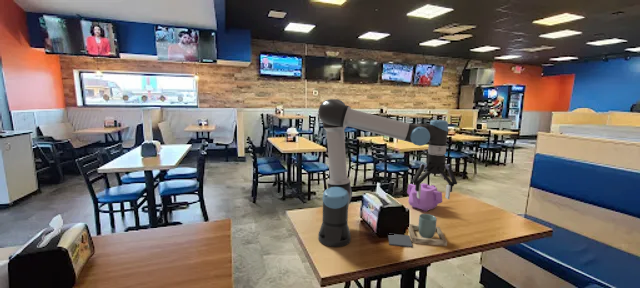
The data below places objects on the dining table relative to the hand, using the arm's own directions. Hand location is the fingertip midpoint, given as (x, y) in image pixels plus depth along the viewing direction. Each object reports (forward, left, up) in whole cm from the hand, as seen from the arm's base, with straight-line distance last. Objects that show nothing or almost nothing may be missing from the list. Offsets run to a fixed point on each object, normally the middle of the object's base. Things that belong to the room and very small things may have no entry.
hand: (432, 198), depth 131 cm
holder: (-2, 0, -19) cm, 19 cm away
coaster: (-15, -7, -19) cm, 25 cm away
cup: (-2, 0, -20) cm, 20 cm away
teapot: (+3, +39, -20) cm, 43 cm away
